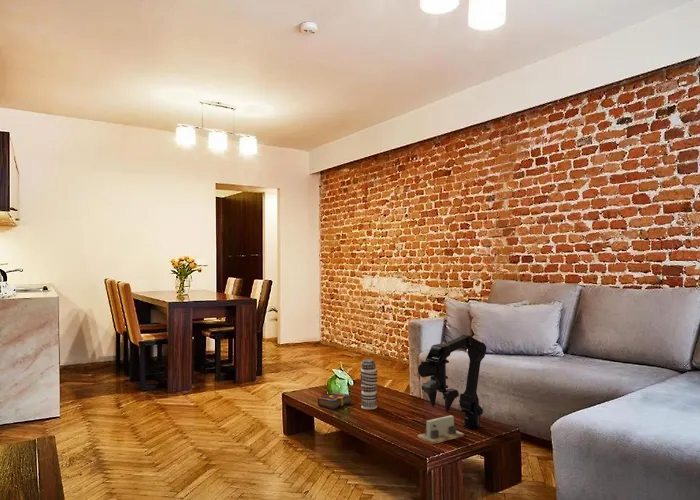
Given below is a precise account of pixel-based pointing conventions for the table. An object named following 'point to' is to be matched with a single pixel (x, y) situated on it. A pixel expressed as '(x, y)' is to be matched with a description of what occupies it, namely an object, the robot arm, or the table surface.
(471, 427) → the robot arm
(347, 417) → the table surface
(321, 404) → the decorative book
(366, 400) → the tower model
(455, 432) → the hinge base
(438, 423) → the door panel
